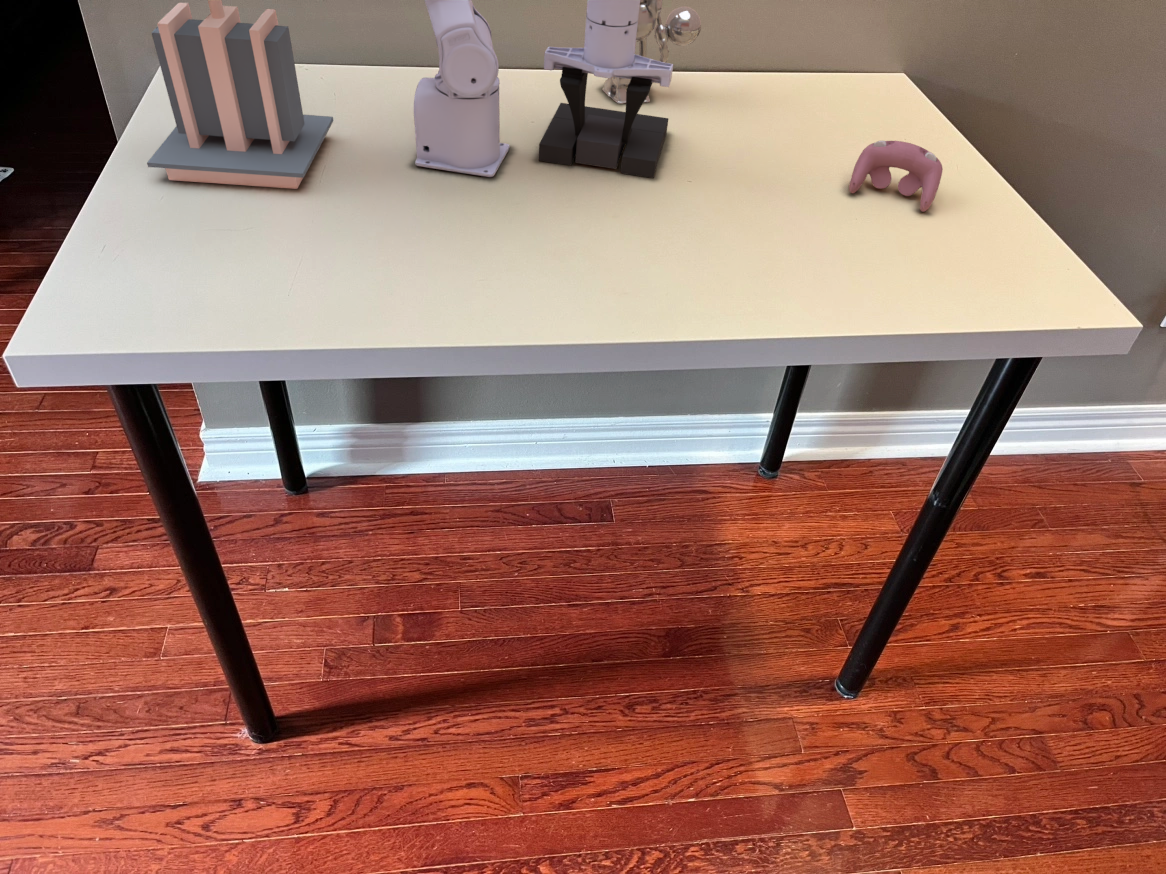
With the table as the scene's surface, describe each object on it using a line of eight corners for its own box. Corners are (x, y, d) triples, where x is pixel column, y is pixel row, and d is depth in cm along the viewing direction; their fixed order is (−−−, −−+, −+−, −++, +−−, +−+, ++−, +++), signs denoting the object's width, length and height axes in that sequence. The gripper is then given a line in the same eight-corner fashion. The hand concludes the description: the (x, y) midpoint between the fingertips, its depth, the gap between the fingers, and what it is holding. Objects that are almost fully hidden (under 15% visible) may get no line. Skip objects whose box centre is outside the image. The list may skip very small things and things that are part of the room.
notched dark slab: (538, 161, 106) (539, 143, 104) (559, 119, 114) (560, 102, 113) (653, 178, 104) (655, 161, 103) (666, 134, 113) (668, 118, 111)
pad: (575, 162, 105) (576, 139, 103) (586, 137, 110) (588, 114, 108) (616, 169, 105) (618, 145, 103) (625, 143, 110) (628, 120, 107)
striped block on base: (342, 137, 107) (298, -188, 84) (313, 195, 97) (254, -157, 74) (190, 126, 107) (105, -204, 84) (146, 183, 96) (34, -174, 74)
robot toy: (682, 82, 125) (698, -32, 114) (697, 101, 121) (715, -16, 110) (582, 87, 122) (589, -30, 111) (594, 106, 117) (602, -14, 107)
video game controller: (928, 213, 105) (950, 154, 103) (929, 213, 101) (952, 151, 99) (847, 192, 108) (867, 133, 106) (844, 191, 104) (865, 130, 102)
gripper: (539, 20, 94) (536, 141, 104) (673, 39, 93) (657, 159, 102) (553, -1, 99) (549, 116, 109) (681, 16, 98) (665, 133, 107)
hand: (602, 135), depth 106 cm, fingers closed on pad, 5 cm apart
